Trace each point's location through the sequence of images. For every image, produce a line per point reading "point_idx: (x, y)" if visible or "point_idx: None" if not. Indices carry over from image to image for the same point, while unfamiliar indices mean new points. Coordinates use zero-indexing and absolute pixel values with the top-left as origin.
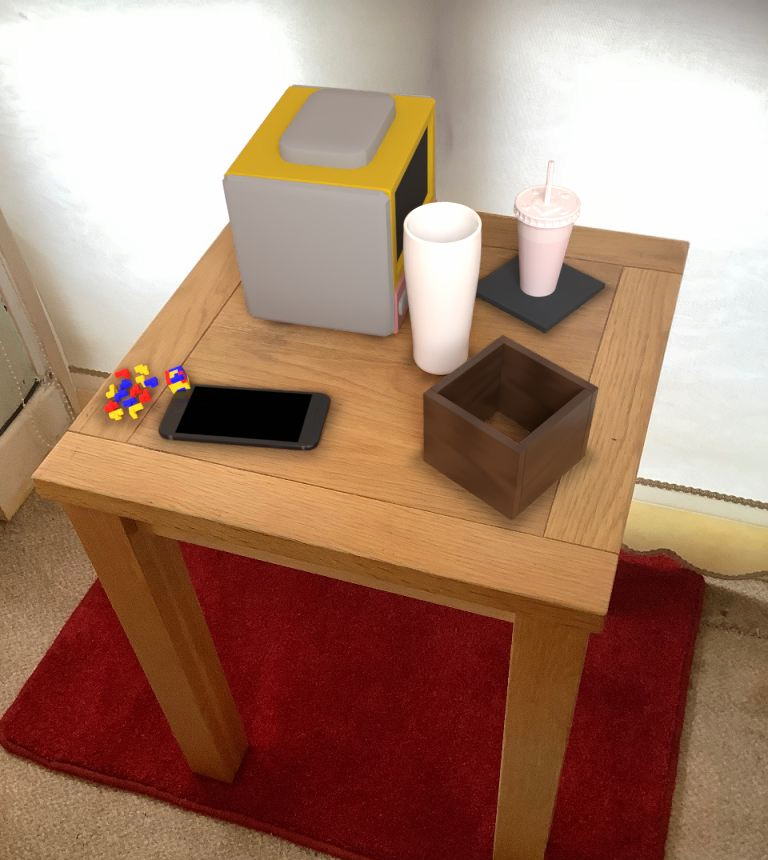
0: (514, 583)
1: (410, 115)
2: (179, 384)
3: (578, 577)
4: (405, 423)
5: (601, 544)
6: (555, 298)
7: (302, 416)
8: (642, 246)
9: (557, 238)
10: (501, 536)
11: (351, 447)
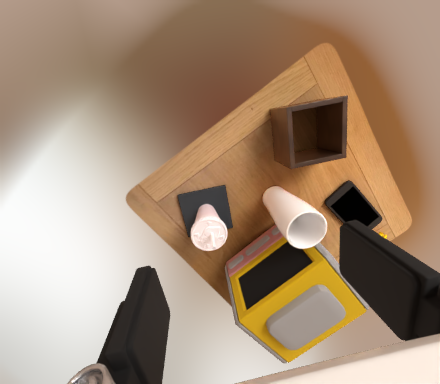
0: (343, 70)
1: (263, 313)
2: None
3: (323, 54)
4: (310, 173)
5: (303, 62)
6: (206, 200)
7: (341, 197)
8: (136, 209)
9: (212, 215)
10: (328, 95)
11: (335, 174)
